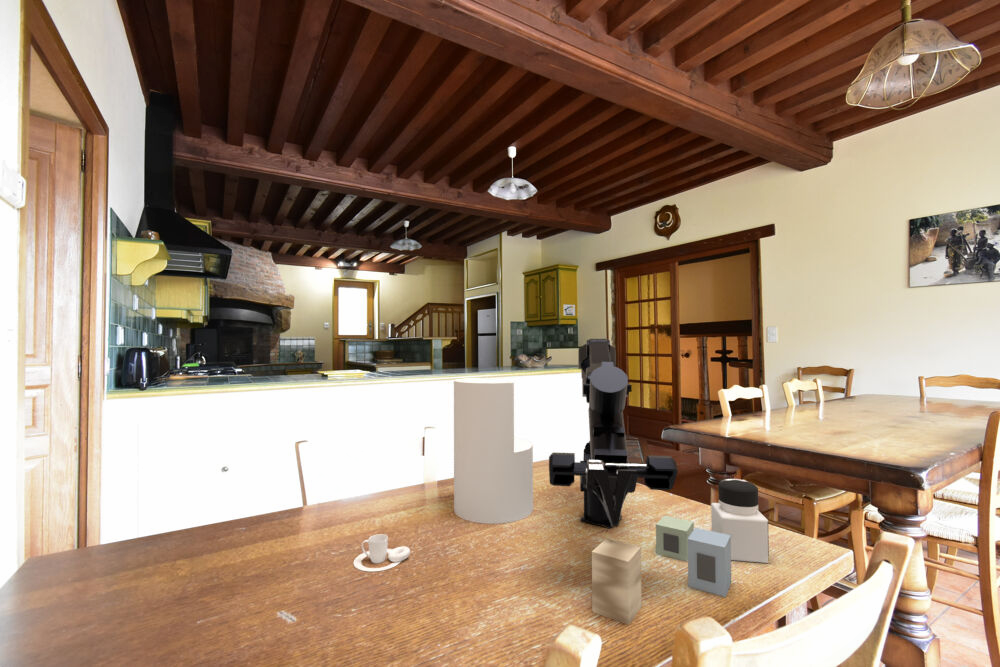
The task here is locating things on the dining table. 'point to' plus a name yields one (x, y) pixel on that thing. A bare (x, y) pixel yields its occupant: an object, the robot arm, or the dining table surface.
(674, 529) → the sage numbered block
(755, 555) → the medicine bottle
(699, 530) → the slate numbered block
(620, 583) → the beech block
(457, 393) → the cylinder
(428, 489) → the dining table surface
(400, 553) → the teacup and saucer
